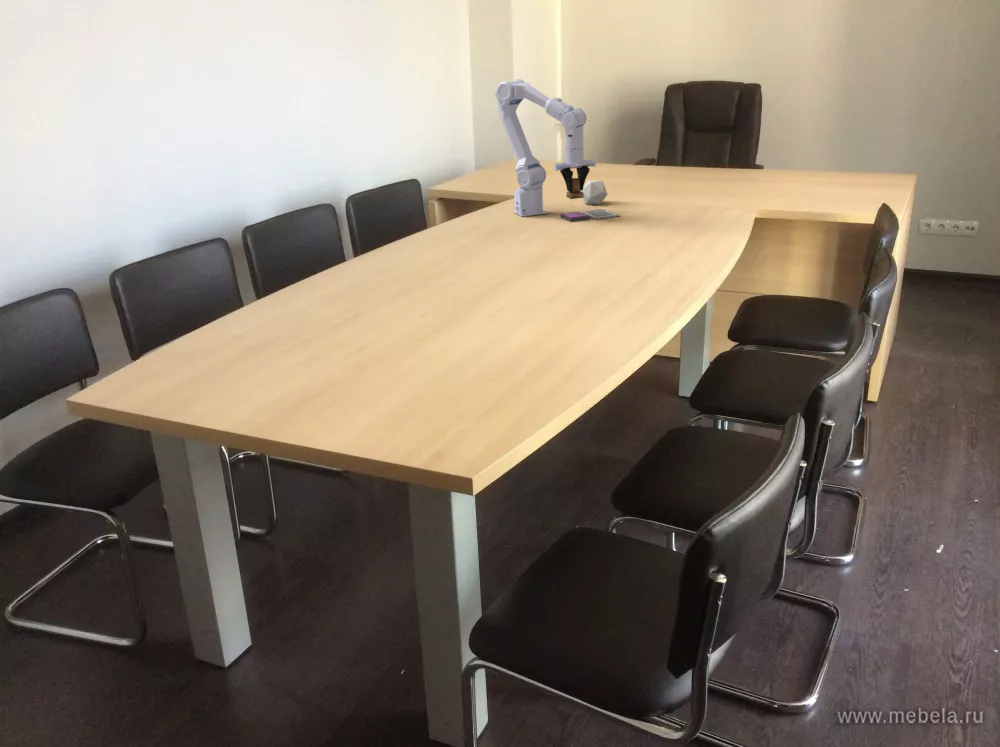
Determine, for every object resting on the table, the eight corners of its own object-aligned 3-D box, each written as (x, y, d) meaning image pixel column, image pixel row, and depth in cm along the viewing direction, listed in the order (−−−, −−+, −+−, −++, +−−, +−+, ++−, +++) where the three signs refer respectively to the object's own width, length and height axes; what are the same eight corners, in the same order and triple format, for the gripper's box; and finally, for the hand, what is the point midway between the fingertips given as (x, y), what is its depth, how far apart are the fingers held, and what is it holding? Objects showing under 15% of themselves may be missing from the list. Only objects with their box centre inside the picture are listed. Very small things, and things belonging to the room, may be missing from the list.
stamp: (571, 199, 276) (570, 180, 273) (566, 196, 280) (566, 178, 277) (583, 197, 277) (583, 179, 274) (579, 195, 280) (578, 177, 278)
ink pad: (570, 221, 275) (570, 217, 275) (560, 217, 282) (560, 213, 282) (589, 219, 277) (589, 215, 277) (579, 214, 284) (579, 211, 284)
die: (591, 209, 295) (608, 185, 292) (572, 195, 297) (589, 171, 295) (598, 213, 302) (615, 189, 300) (580, 199, 305) (596, 176, 303)
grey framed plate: (595, 219, 276) (595, 216, 276) (581, 213, 286) (581, 210, 286) (620, 216, 279) (620, 213, 279) (605, 210, 289) (605, 207, 288)
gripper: (559, 151, 266) (560, 195, 271) (600, 147, 271) (600, 190, 276) (550, 149, 272) (551, 191, 277) (590, 145, 277) (590, 186, 282)
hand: (575, 190), depth 277 cm, fingers closed on stamp, 3 cm apart
